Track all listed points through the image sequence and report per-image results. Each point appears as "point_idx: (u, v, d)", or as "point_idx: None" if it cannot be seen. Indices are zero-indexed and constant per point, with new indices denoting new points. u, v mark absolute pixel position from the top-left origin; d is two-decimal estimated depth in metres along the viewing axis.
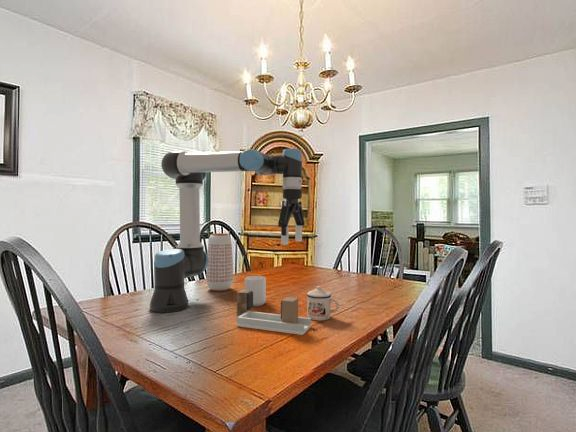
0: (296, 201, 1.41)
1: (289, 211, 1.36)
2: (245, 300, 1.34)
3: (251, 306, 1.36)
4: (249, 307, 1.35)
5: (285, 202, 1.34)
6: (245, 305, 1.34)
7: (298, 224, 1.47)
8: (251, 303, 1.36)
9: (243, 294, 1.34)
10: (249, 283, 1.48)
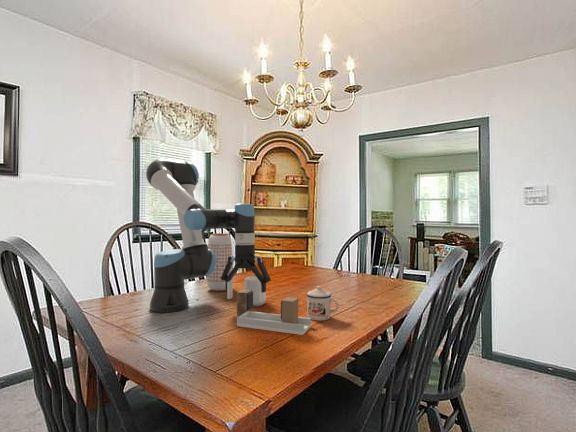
0: (247, 257, 1.35)
1: None
2: (245, 300, 1.34)
3: (251, 306, 1.36)
4: (249, 307, 1.35)
5: None
6: (245, 305, 1.34)
7: None
8: (251, 303, 1.36)
9: (243, 294, 1.34)
10: (249, 283, 1.48)
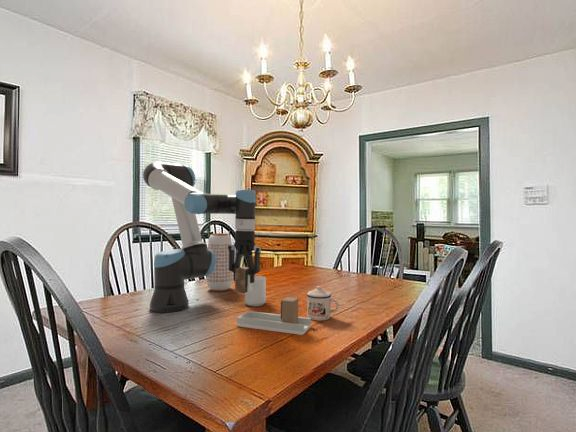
0: (248, 242, 1.35)
1: None
2: (244, 277, 1.34)
3: None
4: (247, 284, 1.35)
5: None
6: (243, 282, 1.34)
7: None
8: None
9: (242, 271, 1.34)
10: None
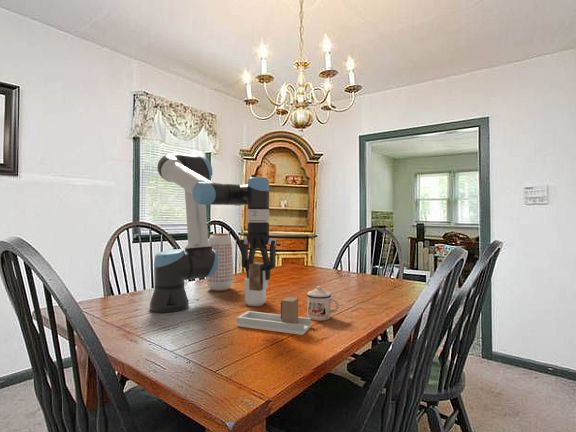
0: (262, 234, 1.23)
1: None
2: (258, 272, 1.22)
3: None
4: None
5: None
6: (258, 278, 1.22)
7: None
8: None
9: (256, 266, 1.22)
10: None
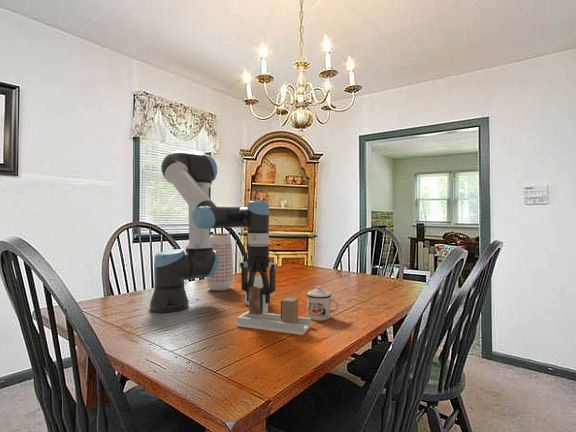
0: (262, 258, 1.23)
1: None
2: (258, 296, 1.22)
3: None
4: None
5: None
6: (258, 302, 1.22)
7: None
8: None
9: (256, 290, 1.22)
10: None
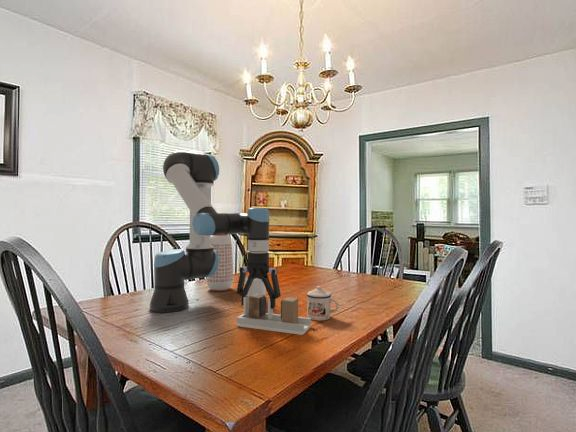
0: (262, 265, 1.23)
1: None
2: (258, 306, 1.22)
3: (264, 312, 1.25)
4: (262, 313, 1.23)
5: None
6: (258, 311, 1.22)
7: None
8: (264, 309, 1.24)
9: (255, 299, 1.22)
10: None
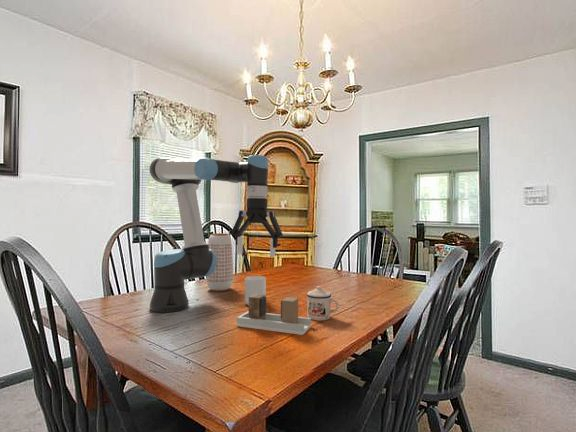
0: (259, 211, 1.29)
1: None
2: (258, 306, 1.22)
3: (264, 312, 1.25)
4: (262, 313, 1.23)
5: None
6: (258, 311, 1.22)
7: None
8: (264, 309, 1.24)
9: (255, 299, 1.22)
10: (249, 283, 1.48)
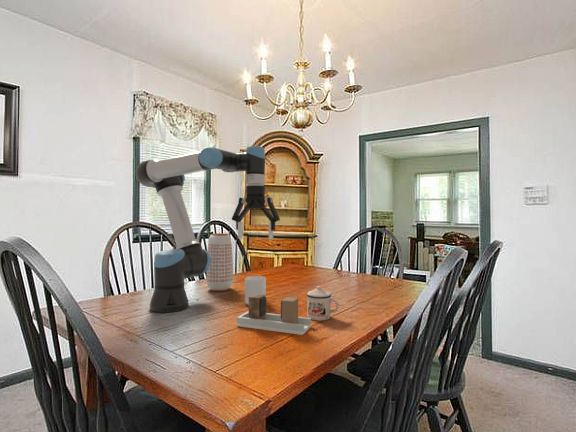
0: (258, 197, 1.41)
1: None
2: (258, 306, 1.22)
3: (264, 312, 1.25)
4: (262, 313, 1.23)
5: None
6: (258, 311, 1.22)
7: None
8: (264, 309, 1.24)
9: (255, 299, 1.22)
10: (249, 283, 1.48)
